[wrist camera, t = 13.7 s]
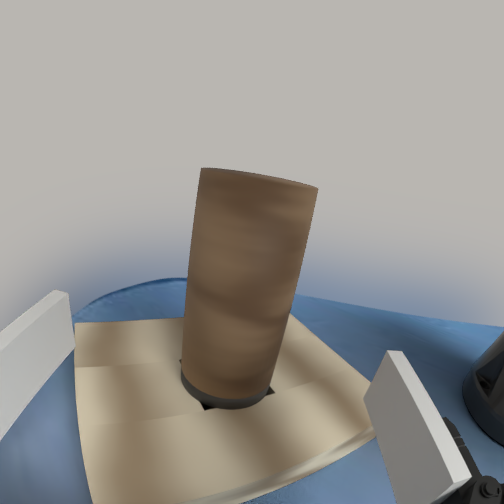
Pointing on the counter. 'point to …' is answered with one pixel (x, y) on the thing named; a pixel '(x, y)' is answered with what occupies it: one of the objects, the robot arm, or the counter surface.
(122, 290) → the counter surface
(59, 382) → the counter surface
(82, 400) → the birch board
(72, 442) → the counter surface
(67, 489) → the counter surface
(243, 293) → the walnut peg
